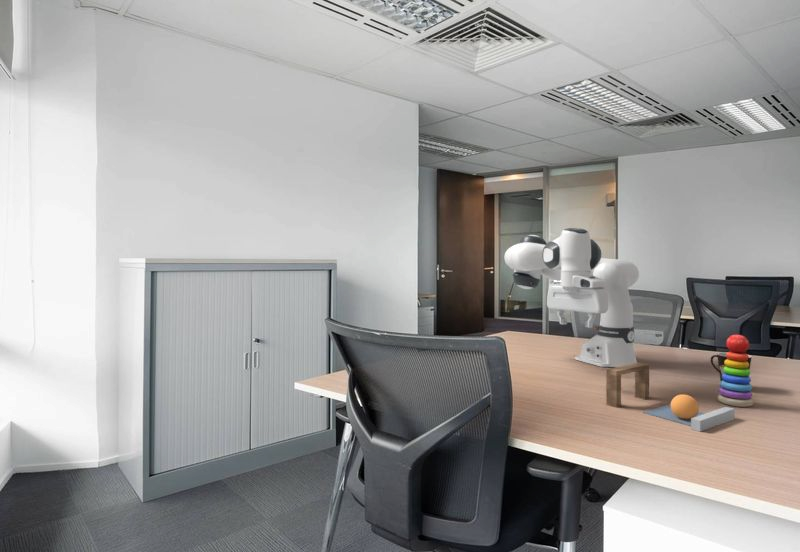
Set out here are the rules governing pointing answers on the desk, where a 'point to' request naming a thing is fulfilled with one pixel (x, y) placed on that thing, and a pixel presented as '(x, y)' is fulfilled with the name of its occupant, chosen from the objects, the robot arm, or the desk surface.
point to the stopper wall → (712, 419)
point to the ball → (684, 407)
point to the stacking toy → (736, 374)
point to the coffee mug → (721, 360)
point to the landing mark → (669, 414)
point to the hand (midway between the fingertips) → (575, 325)
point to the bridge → (615, 382)
